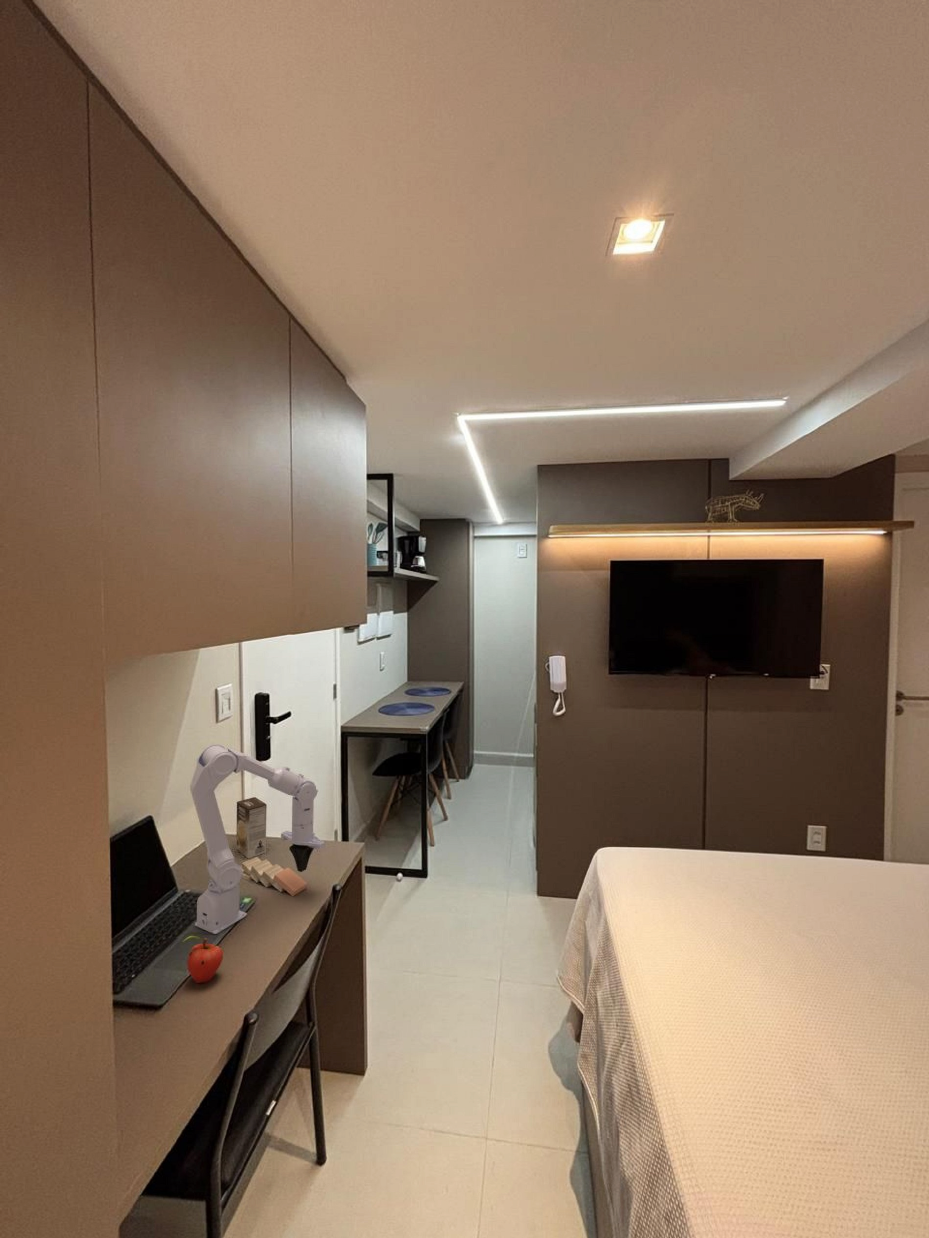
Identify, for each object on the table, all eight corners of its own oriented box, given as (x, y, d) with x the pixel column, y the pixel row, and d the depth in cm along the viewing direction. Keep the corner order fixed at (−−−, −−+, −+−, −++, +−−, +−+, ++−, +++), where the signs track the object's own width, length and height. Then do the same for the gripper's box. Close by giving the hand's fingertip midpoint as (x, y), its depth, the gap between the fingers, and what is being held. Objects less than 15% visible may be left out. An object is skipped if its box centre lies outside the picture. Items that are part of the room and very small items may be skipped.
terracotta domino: (292, 896, 148) (273, 879, 151) (305, 888, 152) (286, 871, 156) (294, 891, 148) (274, 874, 151) (307, 883, 152) (288, 867, 156)
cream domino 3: (282, 875, 156) (266, 859, 160) (268, 882, 152) (251, 865, 156) (281, 880, 156) (265, 863, 160) (266, 887, 152) (250, 870, 156)
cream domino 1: (262, 869, 160) (244, 863, 164) (249, 877, 156) (230, 870, 160) (262, 875, 160) (244, 868, 164) (249, 882, 156) (230, 875, 160)
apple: (213, 963, 120) (213, 919, 119) (228, 977, 115) (228, 931, 115) (177, 981, 114) (177, 934, 114) (191, 996, 109) (191, 948, 109)
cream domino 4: (295, 879, 154) (276, 863, 158) (282, 887, 150) (263, 871, 153) (294, 884, 154) (275, 868, 158) (280, 892, 150) (261, 875, 153)
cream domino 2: (272, 871, 159) (257, 856, 163) (257, 877, 154) (242, 862, 159) (271, 876, 159) (256, 861, 163) (256, 882, 155) (241, 867, 159)
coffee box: (235, 849, 176) (235, 801, 175) (254, 843, 180) (254, 796, 180) (247, 859, 169) (248, 808, 169) (267, 852, 174) (267, 803, 174)
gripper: (332, 821, 149) (331, 870, 150) (294, 812, 156) (293, 858, 156) (314, 830, 143) (313, 881, 143) (275, 820, 150) (274, 868, 150)
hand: (302, 870), depth 150 cm, fingers closed
